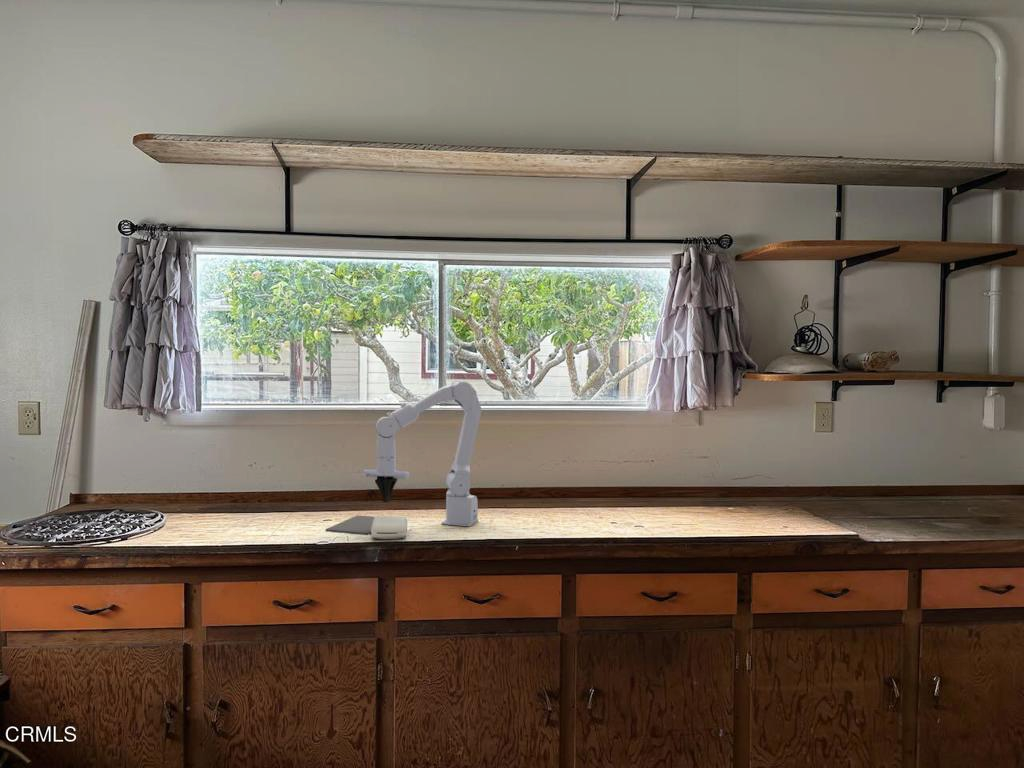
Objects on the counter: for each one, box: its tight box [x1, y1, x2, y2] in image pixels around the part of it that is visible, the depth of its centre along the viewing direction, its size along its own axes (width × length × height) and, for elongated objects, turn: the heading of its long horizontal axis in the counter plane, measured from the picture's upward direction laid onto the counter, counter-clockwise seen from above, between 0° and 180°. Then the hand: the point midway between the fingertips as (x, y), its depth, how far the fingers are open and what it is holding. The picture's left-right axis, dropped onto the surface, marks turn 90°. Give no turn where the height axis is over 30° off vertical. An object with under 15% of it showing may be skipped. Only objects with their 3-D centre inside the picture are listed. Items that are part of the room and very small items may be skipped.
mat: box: [325, 514, 375, 536], centre depth 193 cm, size 14×18×1 cm
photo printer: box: [370, 515, 408, 540], centre depth 182 cm, size 10×4×12 cm
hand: (386, 501), depth 190 cm, fingers closed
